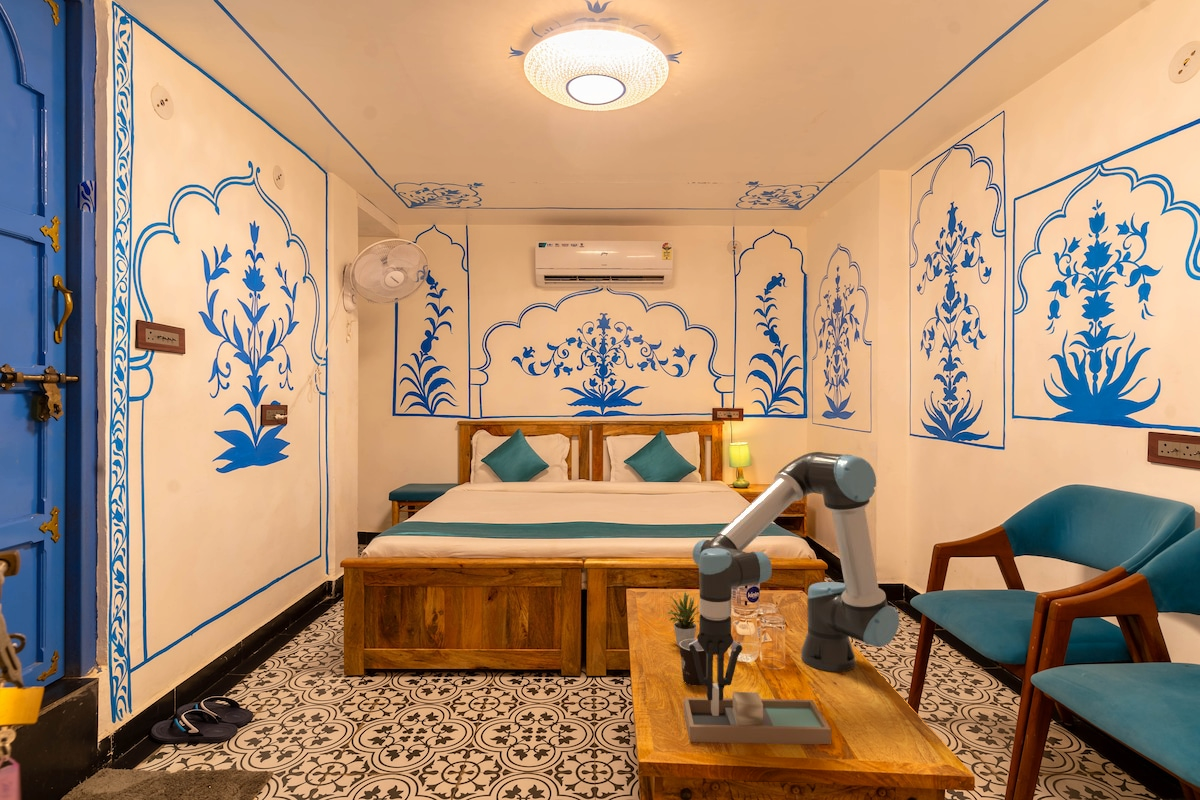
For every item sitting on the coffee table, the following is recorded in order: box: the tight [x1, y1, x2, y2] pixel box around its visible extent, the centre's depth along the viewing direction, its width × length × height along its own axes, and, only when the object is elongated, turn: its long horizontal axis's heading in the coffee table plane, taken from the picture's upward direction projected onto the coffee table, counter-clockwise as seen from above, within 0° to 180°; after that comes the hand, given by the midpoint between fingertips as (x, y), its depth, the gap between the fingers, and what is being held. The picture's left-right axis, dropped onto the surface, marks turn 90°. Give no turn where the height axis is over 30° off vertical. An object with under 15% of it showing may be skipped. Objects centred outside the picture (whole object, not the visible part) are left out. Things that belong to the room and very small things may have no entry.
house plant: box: [664, 591, 700, 648], centre depth 205 cm, size 14×14×16 cm
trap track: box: [683, 697, 832, 745], centre depth 154 cm, size 32×14×4 cm, turn 88°
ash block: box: [732, 691, 763, 726], centre depth 154 cm, size 6×6×5 cm
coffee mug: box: [678, 638, 707, 686], centre depth 180 cm, size 12×9×10 cm
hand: (714, 712), depth 154 cm, fingers closed
